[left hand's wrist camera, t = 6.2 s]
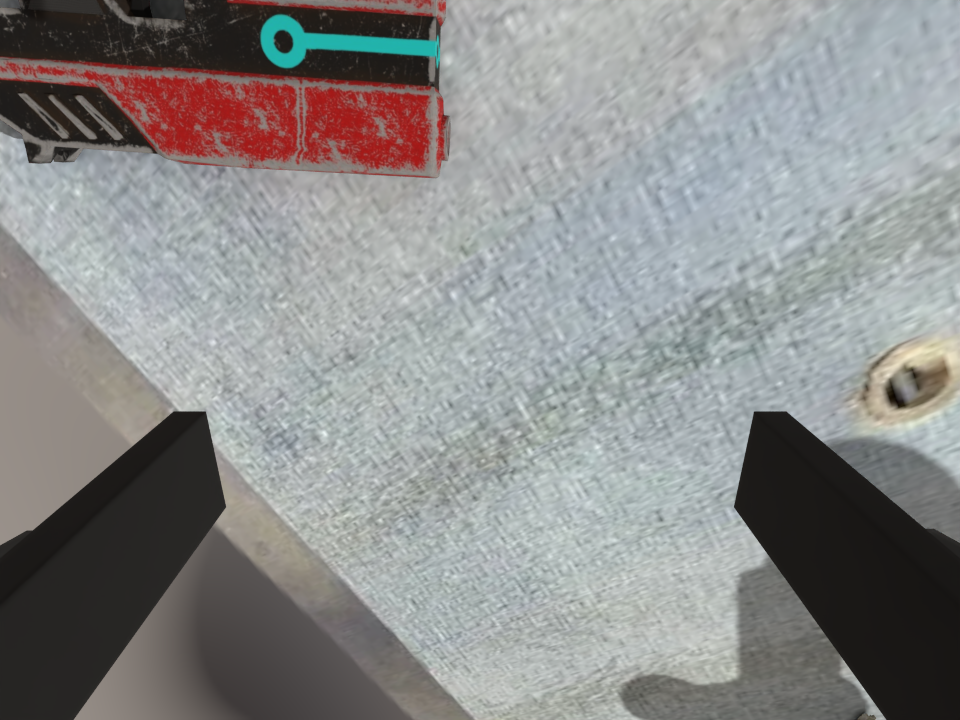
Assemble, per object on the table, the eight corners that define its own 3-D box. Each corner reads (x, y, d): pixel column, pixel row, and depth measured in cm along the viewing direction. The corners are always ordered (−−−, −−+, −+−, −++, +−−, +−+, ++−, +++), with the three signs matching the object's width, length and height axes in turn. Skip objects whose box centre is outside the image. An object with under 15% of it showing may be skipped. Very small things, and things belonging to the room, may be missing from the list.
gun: (-126, -229, 28) (-16, 160, 35) (458, -189, 28) (445, 191, 36) (-46, -181, 32) (37, 158, 40) (462, -146, 32) (449, 185, 40)
